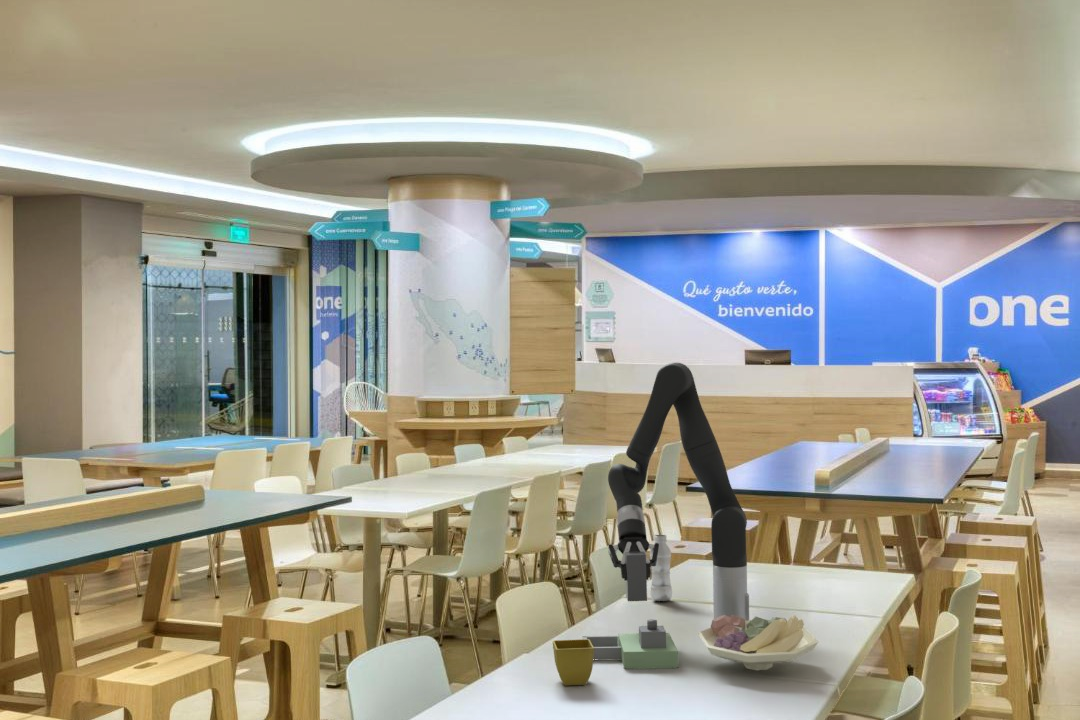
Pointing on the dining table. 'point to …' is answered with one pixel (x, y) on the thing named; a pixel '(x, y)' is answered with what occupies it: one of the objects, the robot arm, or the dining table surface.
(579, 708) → the dining table surface
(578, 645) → the flower pot
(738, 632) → the dish with food
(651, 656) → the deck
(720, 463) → the robot arm
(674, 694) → the dining table surface
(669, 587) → the plastic bottle
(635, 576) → the tall grey cuboid
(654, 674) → the dining table surface
